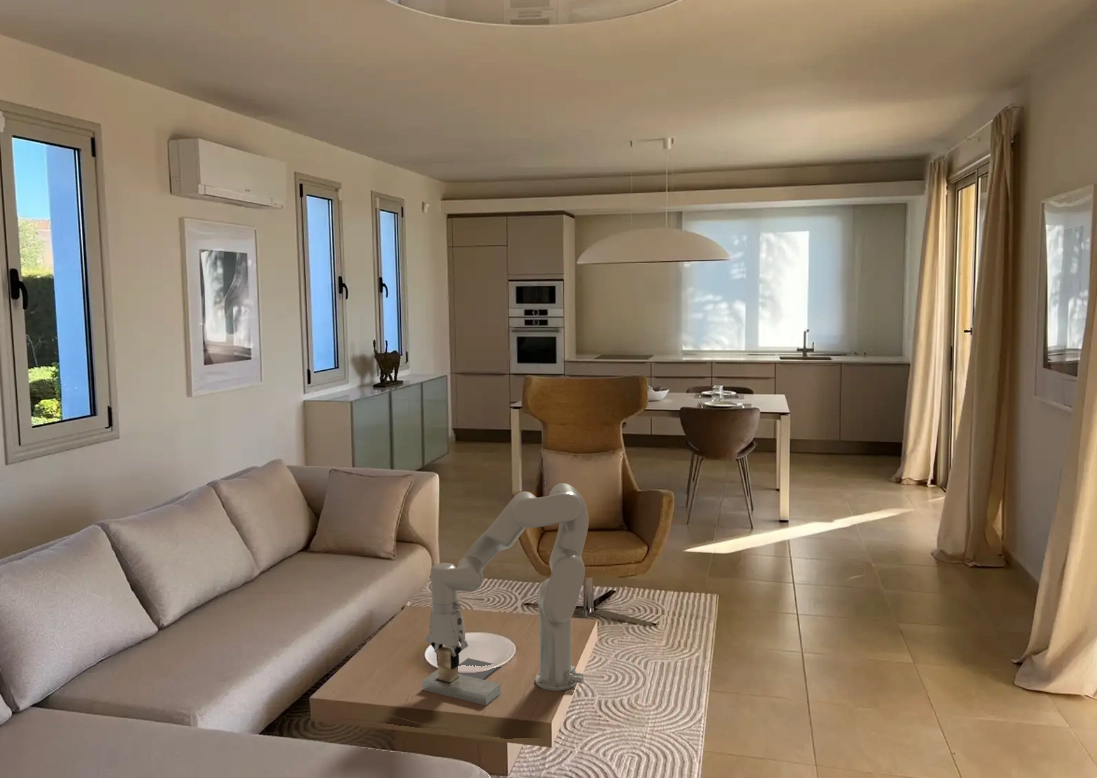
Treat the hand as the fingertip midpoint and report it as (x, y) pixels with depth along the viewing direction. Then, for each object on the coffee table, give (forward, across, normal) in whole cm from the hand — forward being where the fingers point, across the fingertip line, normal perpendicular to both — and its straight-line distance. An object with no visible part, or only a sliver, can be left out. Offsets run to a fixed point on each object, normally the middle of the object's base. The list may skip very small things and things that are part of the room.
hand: (448, 665), depth 248 cm
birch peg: (+4, 0, 0) cm, 4 cm away
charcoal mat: (+7, 0, -13) cm, 15 cm away
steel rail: (+7, -4, 0) cm, 9 cm away
